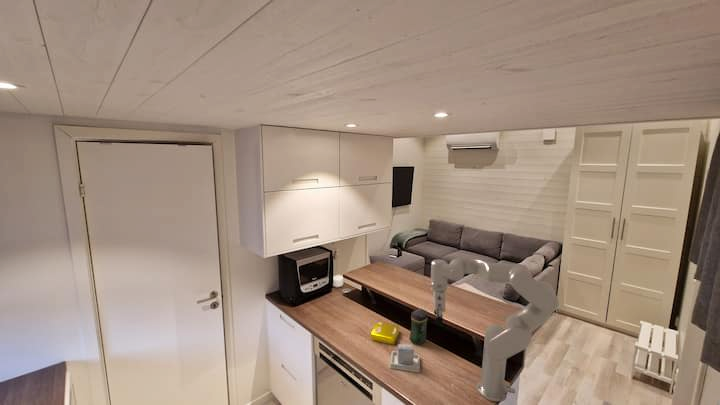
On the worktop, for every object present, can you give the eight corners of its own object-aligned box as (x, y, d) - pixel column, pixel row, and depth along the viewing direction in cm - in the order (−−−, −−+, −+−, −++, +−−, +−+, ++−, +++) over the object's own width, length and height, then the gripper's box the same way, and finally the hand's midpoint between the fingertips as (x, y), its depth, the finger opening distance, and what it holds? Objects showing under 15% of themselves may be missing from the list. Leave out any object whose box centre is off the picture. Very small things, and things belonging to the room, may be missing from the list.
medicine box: (411, 359, 155) (412, 344, 153) (413, 365, 150) (414, 349, 149) (396, 358, 155) (397, 343, 153) (397, 364, 150) (398, 349, 149)
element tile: (394, 345, 167) (395, 338, 167) (369, 340, 172) (370, 332, 171) (399, 331, 181) (400, 324, 181) (376, 327, 186) (376, 320, 185)
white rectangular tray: (419, 357, 157) (419, 354, 156) (419, 372, 146) (419, 368, 146) (391, 354, 159) (391, 350, 159) (389, 367, 149) (389, 363, 148)
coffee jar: (418, 347, 166) (420, 316, 163) (407, 340, 172) (409, 311, 169) (428, 340, 172) (430, 311, 169) (417, 334, 178) (419, 306, 175)
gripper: (449, 294, 130) (448, 330, 132) (445, 279, 147) (444, 311, 149) (431, 293, 132) (431, 328, 134) (430, 278, 148) (429, 310, 151)
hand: (438, 319), depth 141 cm, fingers open, 9 cm apart
